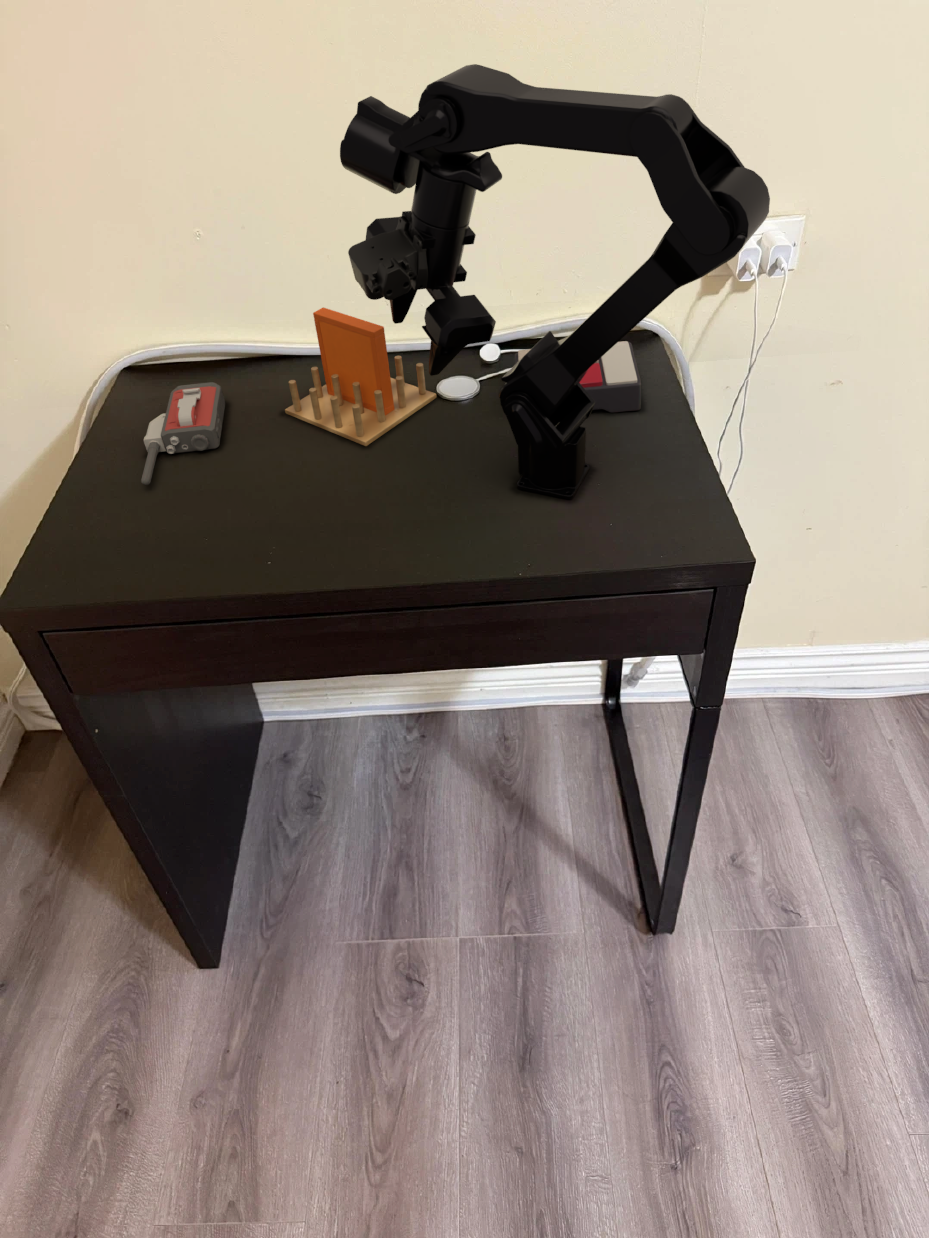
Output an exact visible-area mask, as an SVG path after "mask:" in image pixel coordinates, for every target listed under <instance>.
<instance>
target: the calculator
mask: <svg viewBox="0 0 929 1238" xmlns="http://www.w3.org/2000/svg"><path fill="white" fill-rule="evenodd" d="M531 349H532V348H525V349H519V350H518V351H517V352H515V353H514V365H515V364H516V363H517V362H518V361H519V360H520V359H521V358H522V357H523V356H524V355H526V354H527V353H528V352H529V351H530V350H531ZM579 383H580V384H581V385H582V386H583V388H584V389H585V390H586V391H587V393H588V394H589V395H590V396H591V397H592V399H593V400H594V401H595V405H594V408H593V410H592V411H595V410H603V411H606V412H608V413H610V414H611V413H622V412H634V411H640V410H641V408H642V380H641V376H640V372H639V367H638V364H637V360H636V355H635V352H634V348H633V344H632V342H630V341H627V340H625V341H619V342H617V343H616V344H615V345H614V346H613V347H612V348H611V349H610V350H609V351H607V352H606V353H605V354H604V355H603V356H602V357H601V358H600V359H599V360H598V361H596V362H595V363H594V364H593V365H592V366H591V367H590V368H589V369H588V371H587V372H586V374H585V375H584V377H583V378H582V380H581V381H580V382H579Z"/></svg>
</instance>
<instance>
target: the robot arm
mask: <svg viewBox="0 0 929 1238" xmlns="http://www.w3.org/2000/svg"><path fill="white" fill-rule="evenodd" d="M417 105H418V107H417V108H418V109H417V111H416V112H415V113H414V114H413V115H412V116H408V115H406V114H404V113H402V112H399V111H398V110H395V109H394V108H391V107H389V106H388V105H387V104H385V103H384V102H383V101H382V100H380V99H378V98H376V97H374V96H372V95H369V96H368V97H366V98H363V99H362V100H360V101H358V102H357V107H356V114H355V115H354V116H353V118H352V119H351V120H350V122H349V125H348V126H347V128H346V131H345V134H344V135H343V136H344V137H343V139H342V140H341V142H340V146H339V159H340V163H341V165H342V167H343V168H344V169H345V171H346V170H347V171H349V172H350V173H352V174H354V175H356V176H358V177H360V178H363V179H364V180H366V181H368V182H370V183H371V184H374V185H376V186H378V187H380V188H381V189H383V190H385V191H388V192H389V193H392V194H394V195H397V194H400V193H402V192H404V190H406V189H411V188H413V187H414V192H413V199H412V203H411V209H410V210H403V211H402V212H401V215H400V216H393V217H380V218H375V219H374V220H373V221H372V222H371V223H370V224H369V225H367V227H366V233H365V239H364V240H362V241H360V242H357V243H356V244H354V245H352V246H350V248H349V249H348V251H347V254H348V257H349V261H350V265H351V269H352V272H353V276H354V279H355V282H357V283H358V284H359V286H360V288H361V289H362V291H363V293H365V294H364V295H365V296H366V298H368V299H369V300H372V301H373V300H374V301H376V300H381V299H382V298H384V299H385V300H387V301H389V306H390V314H391V319H392V322H393V323H394V324H402V323H403V322H404V320H405V319H406V317H407V314H408V313H409V311H410V309H411V307H412V305H413V304H412V303H413V301H414V299H415V297H416V294H417V292H418V290H426V291H427V293H428V294H429V295H430V297H431V298H432V300H433V302H431V303H430V304H429V305H428V306H427V307H426V308H425V313H424V317H423V318H424V323H425V325H422V326H421V329H422V330H423V331H424V333H425V334H426V336H428V337H429V340H430V345H429V346H430V348H429V357H428V374H429V376H431V377H433V376H438V375H440V374H441V373H442V372H443V371H444V369H445V368H446V367H447V366H448V365H449V364H450V363H451V362H452V361H453V360H454V359H455V357H456V356H458V354H460V352H461V351H462V350H464V348H466V347H467V346H468V345H474V344H481V343H488V342H490V341H491V340H492V338H493V334H494V330H495V327H496V324H497V321H496V319H494V317H493V315H492V314H491V313H490V312H489V311H488V309H487V308H486V307H485V305H484V304H483V303H482V302H481V300H480V299H479V298H478V297H477V296H476V294H469V295H460V293H459V292H458V291H457V290H456V289H455V287H454V283H461V282H466V280H467V276H468V275H467V274H468V271H467V270H466V269H465V268H464V267H463V265H462V263H461V262H462V258H463V255H464V254H463V253H464V249H465V246H470V245H474V244H475V240H476V236H477V234H476V233H475V232H474V230H473V229H472V228H471V227H470V221H471V218H472V211H473V207H474V203H475V198H476V194H477V191H479V192H480V193H484V192H486V191H487V190H488V189H490V188H491V187H493V186H495V184H497V183H499V182H500V181H501V180H502V179H503V173H502V172H501V171H500V168H499V166H498V165H497V164H496V163H495V162H494V160H493V158H492V155H491V152H490V151H488V150H492V149H496V148H500V147H504V146H511V145H523V146H530V147H531V146H532V147H542V148H551V149H560V150H570V151H578V152H589V153H597V154H606V155H613V156H614V155H615V156H623V157H633V158H637V159H638V160H639V161H640V163H641V164H642V165H643V167H644V168H645V170H646V172H647V173H648V176H649V178H650V180H651V184H652V186H653V188H654V191H655V193H656V197H657V199H658V201H659V204H660V206H661V208H662V210H663V211H664V213H665V214H666V215H667V217H668V218H669V220H670V221H671V222H672V223H671V224H670V226H669V227H668V228H667V230H666V231H665V232H664V233H663V236H662V238H661V240H660V241H659V242H658V243H657V246H656V247H655V249H654V251H653V252H652V254H651V255H650V256H649V257H648V258H647V259H646V261H644V262H643V263H642V264H641V265H640V266H639V267H638V268H637V269H636V270H635V271H634V272H633V273H632V274H631V275H629V277H628V278H627V279H626V280H625V281H624V282H622V284H621V285H620V286H619V287H617V289H616V290H614V292H612V293H611V294H610V296H609V297H607V298H606V299H605V300H604V302H602V303H601V304H600V305H599V306H598V307H596V309H595V310H594V311H593V312H592V313H591V314H590V315H588V317H586V319H585V320H584V321H583V322H581V324H580V325H578V326H577V328H576V329H575V330H574V331H572V333H571V334H569V335H568V336H566V337H563V338H561V339H560V340H559V339H558V340H557V338H556V336H555V335H554V334H553V332H552V331H551V330H549V331H548V332H547V333H546V334H545V335H544V336H543V337H542V338H541V339H540V340H539V341H537V343H535V345H534V346H533V347H531V348H530V349H531V350H530V351H529V352H528V353H527V354H526V355H524V356H523V357H522V358H521V359H520V360H519V361H518V362H517V363H516V364H515V363H514V365H513V366H512V367H511V368H510V369H508V371H507V372H506V373H504V375H503V376H502V377H501V378H500V379H501V381H502V382H505V384H503V386H501V389H500V390H499V393H498V399H499V402H500V406H501V409H502V411H503V413H504V415H505V416H506V419H507V422H508V424H509V427H510V429H511V432H512V435H513V438H514V440H515V443H516V446H517V464H518V465H517V466H518V467H517V468H518V469H517V470H518V471H517V472H518V474H519V476H521V477H520V478H519V479H518V481H517V482H516V488H517V489H519V490H523V491H528V492H532V493H536V494H541V495H546V496H551V497H556V498H561V499H566V500H571V499H573V498H574V497H575V495H576V493H577V491H578V490H579V488H580V486H581V485H582V483H583V482H584V479H585V478H586V476H587V474H588V473H589V471H590V464H589V463H586V445H587V444H586V443H587V441H586V439H587V427H584V426H582V424H584V422H585V421H586V420H587V419H588V418H589V417H591V414H592V412H593V411H594V410H593V408H594V405H595V401H594V400H593V399H592V397H591V396H590V395H589V394H588V393H587V391H586V390H585V389H584V388H583V386H582V385H581V384H580V383H579V382H580V381H581V380H582V378H583V377H584V375H585V374H586V372H587V371H588V369H589V368H590V367H591V366H592V365H593V364H594V363H595V362H596V361H598V360H599V359H600V358H601V357H602V356H603V355H604V354H605V353H606V352H607V351H609V350H610V349H611V348H612V347H613V346H614V345H615V344H616V343H617V342H621V340H622V339H624V338H625V336H626V335H628V334H629V333H630V332H631V331H632V330H633V329H634V328H636V326H637V325H639V324H640V323H641V322H642V321H643V320H644V319H645V318H646V317H647V316H649V315H650V314H651V313H652V312H653V311H655V309H657V307H658V306H660V305H661V304H662V303H663V302H664V301H665V300H667V298H668V297H670V296H671V295H672V294H673V293H674V292H675V291H676V290H679V289H680V288H681V287H684V286H685V285H688V284H691V283H693V282H695V281H697V280H700V279H701V278H703V277H705V276H706V275H708V274H710V273H711V272H714V271H715V270H716V269H718V268H719V267H722V266H723V265H725V264H726V263H728V262H730V261H731V260H732V259H734V258H735V257H736V256H737V255H738V254H739V252H741V250H742V249H743V247H744V246H745V245H746V244H747V243H748V242H749V240H751V238H752V237H753V236H754V235H755V233H756V232H757V231H758V229H759V228H760V227H761V226H762V225H763V223H764V222H765V221H766V220H767V217H768V215H769V213H770V203H771V197H770V192H769V187H768V186H767V184H766V182H765V181H764V179H763V177H762V176H760V175H759V174H758V173H757V172H756V171H755V170H753V169H750V168H747V167H745V165H744V164H743V163H742V161H741V160H740V158H739V157H738V156H737V154H736V153H735V152H734V150H733V149H732V147H730V145H729V144H728V143H727V142H726V141H724V140H723V139H722V138H721V137H720V136H719V135H717V134H716V133H715V132H714V131H713V130H712V129H710V127H708V126H707V125H706V124H705V123H704V122H702V121H701V120H700V118H699V117H698V115H697V114H696V112H695V111H694V109H692V107H691V106H690V104H689V102H687V101H686V100H685V99H684V98H683V97H681V96H679V95H675V94H669V93H668V94H664V95H659V96H652V95H641V94H640V95H639V94H630V93H629V94H628V93H617V92H616V93H615V92H605V91H604V92H603V91H602V92H601V91H589V90H577V89H565V88H555V87H554V88H552V87H539V86H538V87H537V86H535V85H530V84H527V83H523V82H521V81H520V80H519V79H517V78H516V77H514V76H513V75H511V74H510V73H507V72H504V71H501V70H497V69H494V68H491V67H489V66H485V65H481V64H475V63H473V64H467V65H464V66H462V67H460V68H459V69H456V70H454V71H453V72H450V73H449V74H446V75H445V76H442V77H440V78H438V79H437V80H434V81H432V82H431V83H429V84H427V85H426V86H425V88H424V90H423V91H422V93H421V95H420V97H419V101H418V104H417ZM483 151H485V152H484V153H481V154H480V155H476V154H474V153H478V152H483Z"/></svg>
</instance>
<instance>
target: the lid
mask: <svg viewBox="0 0 929 1238" xmlns="http://www.w3.org/2000/svg"><path fill="white" fill-rule="evenodd" d="M312 315H313V319H314V320H313V321H314V326H315V332H316V337H317V342H318V343H317V344H318V349H319V353H320V358H321V359H320V360H321V364H322V370H323V374H324V381H325V385H326V386H327V392H328V394H330V395H332V396H335V394H334V389H333V383H332V378H331V376H332V375H333V374H338V375H339V381H340V387H341V393H342V398H343V400H345V401H348V402H351V403H353V404H355V397H354V391H353V385H352V384H353V383H354V382H359V383H360V388H361V395H362V401H363V407H364V408H366V409H369V410H372V411H374V412H377V409H376V402H375V395H374V391H376V390H381V391H382V398H383V406H384V413H385V416H386V415H387V414H388V413H390V412H391V411H393V410H394V402H393V394H392V386H391V379H390V378H391V372H390V364H389V357H388V349H387V341H386V333H385V327H384V326H383V325H381V324H376V323H373V322H370V321H368V320H364V319H361V318H358V317H355V316H351V315H348V314H345V313H342V312H339V311H336V310H334V309H330V308H326V307H321V308H319V309H317V310H316V311H314V312H313V313H312Z"/></svg>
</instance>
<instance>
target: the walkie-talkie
mask: <svg viewBox="0 0 929 1238" xmlns="http://www.w3.org/2000/svg"><path fill="white" fill-rule="evenodd" d="M223 392H224V391H223V388H222V386H221V385H219V384H217V383H216V382H213V381H209V382H199V383H192V384H183V385H177V386H176V387H175V388H174V389H173V390H172V391H170V394H169V399H168V402H167V407H166V411H165V413H161V414H160V415H158V416H157V417H155V418H153V419H152V420H151V421H150V422H149V423H148V426H147V430H146V433H145V436H144V437H143V444H144V447H145V449H146V453H147V455H146V459H145V464H144V466H143V467H144V468H143V471H142V475H141V479H140V482H141V484H142V485H144V486H148V485H149V486H150V484H151V481H152V478H153V474H154V470H155V469H154V468H155V464H156V461H157V456H158V455H159V453H162V452H166V453H167V454H169V455H172V454H180V453H189V452H202V451H207V450H215V449H217V448H218V447H219V446H220V443H221V436H222V430H223V422H224V415H225V410H226V409H225V408H226V400H225V396H224V393H223Z"/></svg>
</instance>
